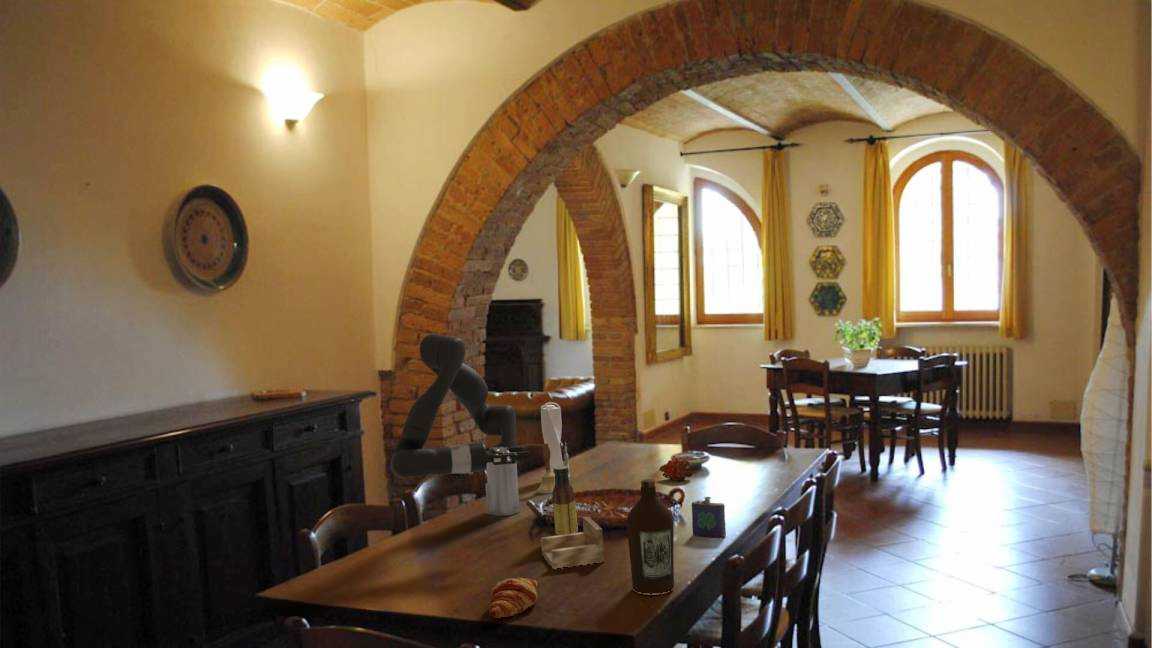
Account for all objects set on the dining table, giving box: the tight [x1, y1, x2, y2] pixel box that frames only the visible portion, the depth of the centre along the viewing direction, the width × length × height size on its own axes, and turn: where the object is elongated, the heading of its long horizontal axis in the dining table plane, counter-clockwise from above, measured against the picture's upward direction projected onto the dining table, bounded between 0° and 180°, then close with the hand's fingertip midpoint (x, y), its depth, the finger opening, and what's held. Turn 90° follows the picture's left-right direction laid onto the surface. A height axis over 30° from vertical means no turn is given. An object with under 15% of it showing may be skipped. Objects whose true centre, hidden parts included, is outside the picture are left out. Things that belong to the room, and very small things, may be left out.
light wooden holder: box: [540, 516, 605, 570], centre depth 235 cm, size 13×13×8 cm
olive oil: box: [626, 478, 675, 594], centre depth 209 cm, size 11×11×25 cm
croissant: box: [488, 576, 538, 619], centre depth 204 cm, size 21×10×8 cm, turn 159°
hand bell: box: [536, 443, 555, 495], centre depth 310 cm, size 8×8×16 cm
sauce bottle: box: [552, 465, 579, 536], centre depth 253 cm, size 6×6×20 cm
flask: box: [691, 496, 727, 539], centre depth 248 cm, size 9×3×11 cm, turn 63°
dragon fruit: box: [658, 456, 694, 482], centre depth 315 cm, size 8×8×12 cm
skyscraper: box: [540, 401, 571, 479], centre depth 325 cm, size 8×8×28 cm
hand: (526, 453), depth 250 cm, fingers open, 8 cm apart
